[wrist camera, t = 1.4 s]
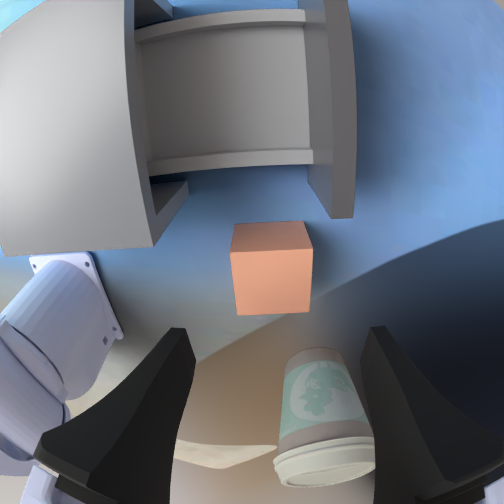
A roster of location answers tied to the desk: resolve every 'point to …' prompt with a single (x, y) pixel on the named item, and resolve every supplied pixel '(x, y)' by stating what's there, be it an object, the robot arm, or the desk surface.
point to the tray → (253, 94)
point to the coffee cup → (322, 423)
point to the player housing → (77, 131)
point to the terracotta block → (271, 267)
